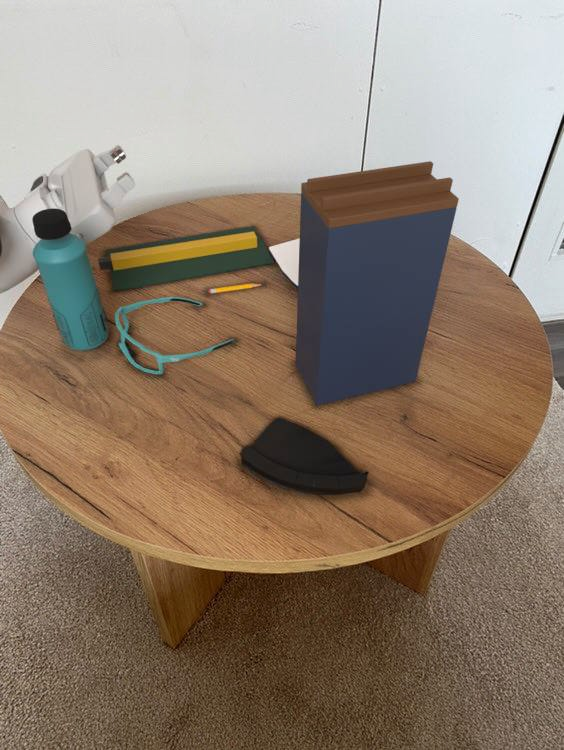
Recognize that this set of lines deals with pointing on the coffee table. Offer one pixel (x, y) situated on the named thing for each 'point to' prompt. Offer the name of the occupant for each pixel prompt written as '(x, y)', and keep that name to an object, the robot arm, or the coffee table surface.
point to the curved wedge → (300, 461)
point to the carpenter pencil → (178, 251)
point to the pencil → (232, 288)
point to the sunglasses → (160, 358)
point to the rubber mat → (189, 262)
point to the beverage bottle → (69, 281)
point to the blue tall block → (369, 276)
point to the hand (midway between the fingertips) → (127, 163)
